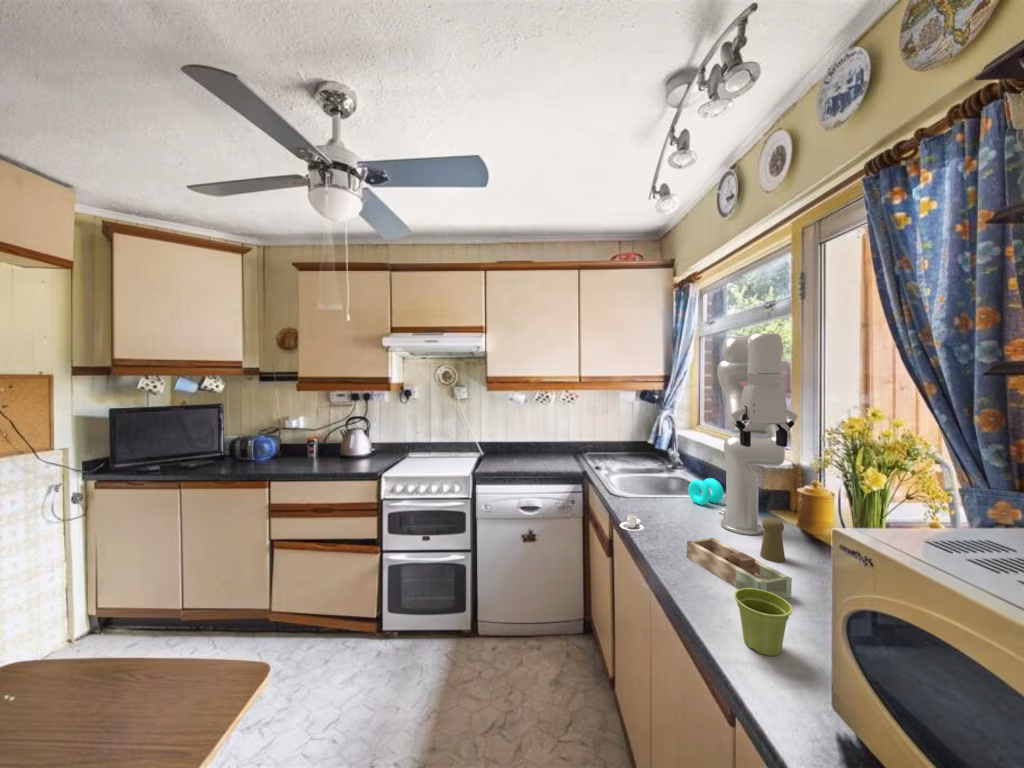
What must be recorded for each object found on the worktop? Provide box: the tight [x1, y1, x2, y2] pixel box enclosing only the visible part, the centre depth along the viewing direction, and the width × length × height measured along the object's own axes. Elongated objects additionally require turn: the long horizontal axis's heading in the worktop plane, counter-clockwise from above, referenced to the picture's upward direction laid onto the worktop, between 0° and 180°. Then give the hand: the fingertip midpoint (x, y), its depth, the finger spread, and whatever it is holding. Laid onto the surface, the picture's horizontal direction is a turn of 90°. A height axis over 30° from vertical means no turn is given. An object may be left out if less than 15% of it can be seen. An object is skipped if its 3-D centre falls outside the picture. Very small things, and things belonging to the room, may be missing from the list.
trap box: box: [686, 537, 793, 600], centre depth 102 cm, size 24×9×4 cm, turn 16°
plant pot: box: [733, 588, 793, 657], centre depth 75 cm, size 9×9×9 cm
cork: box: [759, 517, 786, 564], centre depth 112 cm, size 6×6×11 cm
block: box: [729, 551, 756, 575], centre depth 100 cm, size 4×4×4 cm
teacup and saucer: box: [619, 514, 645, 532], centre depth 136 cm, size 9×8×4 cm
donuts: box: [687, 477, 725, 506], centre depth 161 cm, size 10×10×10 cm
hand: (763, 446), depth 103 cm, fingers open, 9 cm apart
